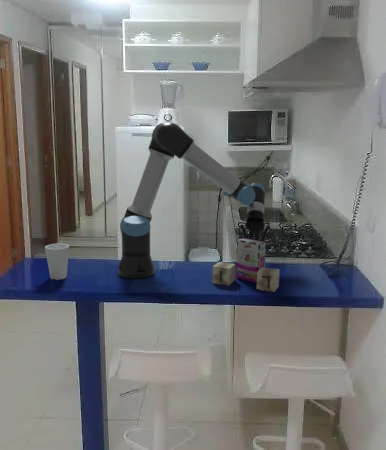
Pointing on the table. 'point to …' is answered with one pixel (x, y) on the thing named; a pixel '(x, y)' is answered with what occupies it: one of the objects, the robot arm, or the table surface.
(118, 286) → the table surface
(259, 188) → the robot arm
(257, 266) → the candy bar box
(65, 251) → the foam cup
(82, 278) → the table surface
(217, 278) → the wooden character cube
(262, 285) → the light wood cube
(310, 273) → the table surface
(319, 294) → the table surface
